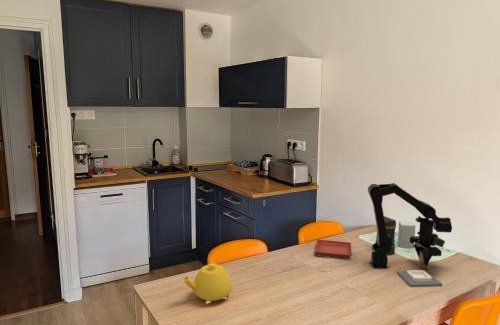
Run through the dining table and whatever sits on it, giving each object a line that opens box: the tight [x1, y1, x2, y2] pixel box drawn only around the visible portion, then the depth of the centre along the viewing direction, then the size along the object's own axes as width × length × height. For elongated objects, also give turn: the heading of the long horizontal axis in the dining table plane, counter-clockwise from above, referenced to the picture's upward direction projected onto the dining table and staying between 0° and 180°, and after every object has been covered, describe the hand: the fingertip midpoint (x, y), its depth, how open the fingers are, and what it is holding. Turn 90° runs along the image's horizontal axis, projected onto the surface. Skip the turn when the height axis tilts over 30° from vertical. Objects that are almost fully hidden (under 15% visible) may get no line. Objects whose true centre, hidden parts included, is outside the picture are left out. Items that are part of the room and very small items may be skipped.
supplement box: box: [397, 221, 416, 249], centre depth 208 cm, size 7×7×13 cm
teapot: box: [182, 262, 233, 302], centre depth 151 cm, size 20×16×14 cm
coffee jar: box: [375, 215, 397, 256], centre depth 199 cm, size 10×8×19 cm
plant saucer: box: [314, 239, 353, 259], centre depth 200 cm, size 18×18×3 cm
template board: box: [396, 269, 443, 288], centre depth 168 cm, size 14×13×2 cm
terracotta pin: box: [418, 250, 429, 271], centre depth 179 cm, size 4×4×8 cm
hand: (423, 263), depth 180 cm, fingers open, 4 cm apart
